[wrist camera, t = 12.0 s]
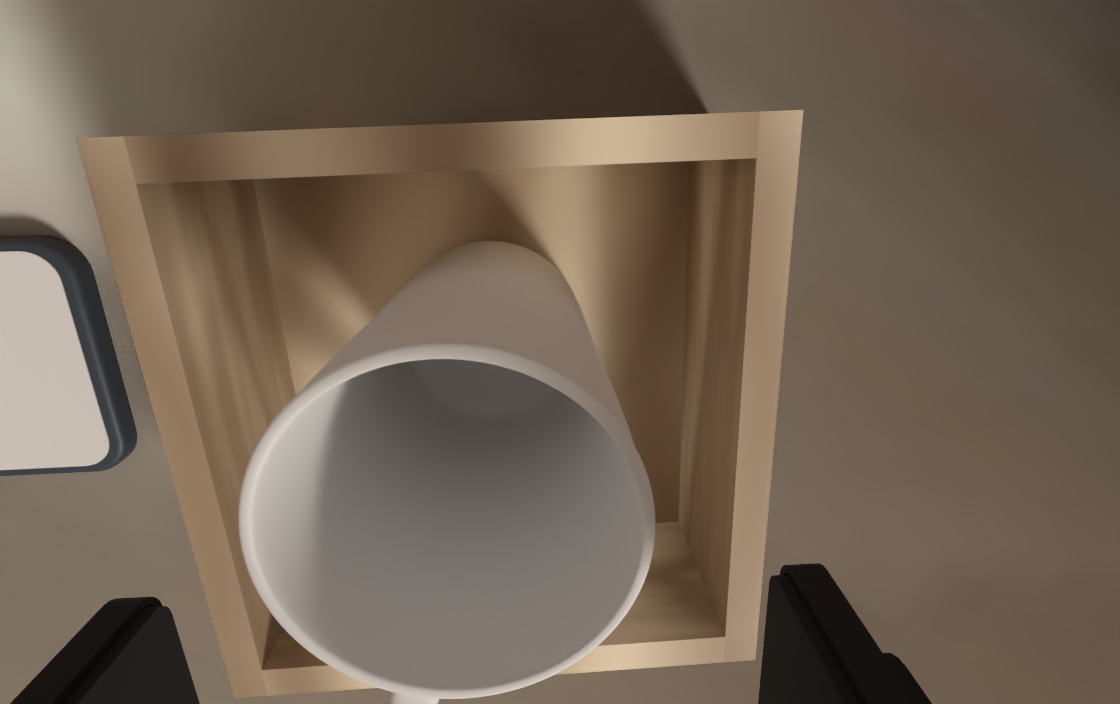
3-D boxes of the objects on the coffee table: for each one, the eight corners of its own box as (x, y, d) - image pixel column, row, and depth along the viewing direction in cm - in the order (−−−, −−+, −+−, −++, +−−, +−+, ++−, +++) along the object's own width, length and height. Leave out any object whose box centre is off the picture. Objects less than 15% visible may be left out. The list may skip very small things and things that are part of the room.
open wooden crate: (712, 121, 20) (803, 109, 14) (695, 526, 25) (755, 659, 19) (227, 140, 20) (75, 137, 13) (311, 551, 25) (234, 698, 18)
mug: (414, 207, 20) (258, 295, 8) (611, 257, 21) (712, 398, 9) (366, 472, 23) (206, 799, 11) (540, 506, 24) (550, 842, 12)
